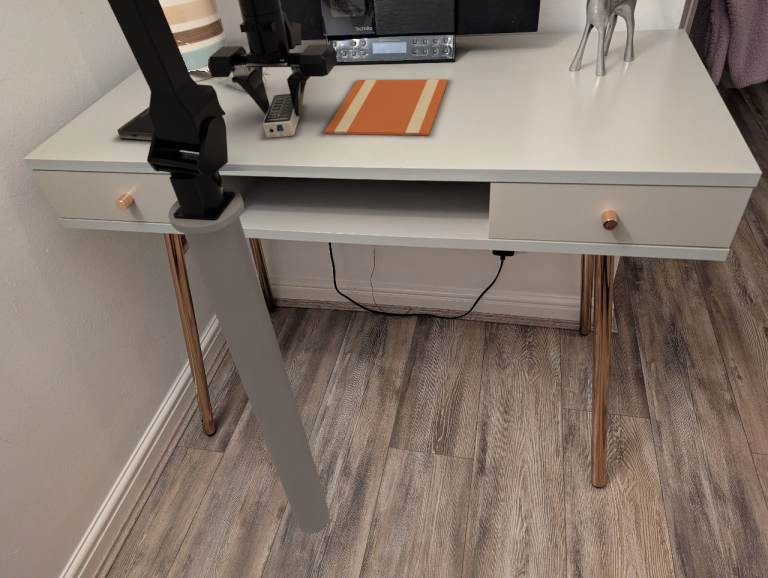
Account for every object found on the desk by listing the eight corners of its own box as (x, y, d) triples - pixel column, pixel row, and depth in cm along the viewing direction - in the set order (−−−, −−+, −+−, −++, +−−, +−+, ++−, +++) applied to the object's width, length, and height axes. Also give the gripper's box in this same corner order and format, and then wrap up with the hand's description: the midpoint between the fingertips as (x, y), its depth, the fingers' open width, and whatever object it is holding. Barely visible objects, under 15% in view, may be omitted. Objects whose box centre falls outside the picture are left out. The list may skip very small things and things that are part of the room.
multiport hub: (302, 105, 96) (300, 92, 95) (293, 135, 88) (290, 121, 87) (276, 108, 97) (273, 94, 95) (265, 137, 88) (262, 123, 87)
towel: (428, 135, 84) (428, 132, 84) (325, 133, 88) (324, 131, 87) (447, 81, 99) (447, 79, 98) (358, 82, 102) (357, 79, 102)
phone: (204, 95, 101) (154, 134, 90) (206, 101, 101) (157, 141, 91) (166, 93, 103) (113, 131, 92) (168, 99, 104) (116, 138, 93)
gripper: (339, -8, 85) (353, 94, 95) (225, -4, 89) (249, 94, 100) (316, 15, 77) (334, 124, 87) (192, 19, 81) (222, 123, 92)
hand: (283, 115), depth 92 cm, fingers closed on multiport hub, 5 cm apart
